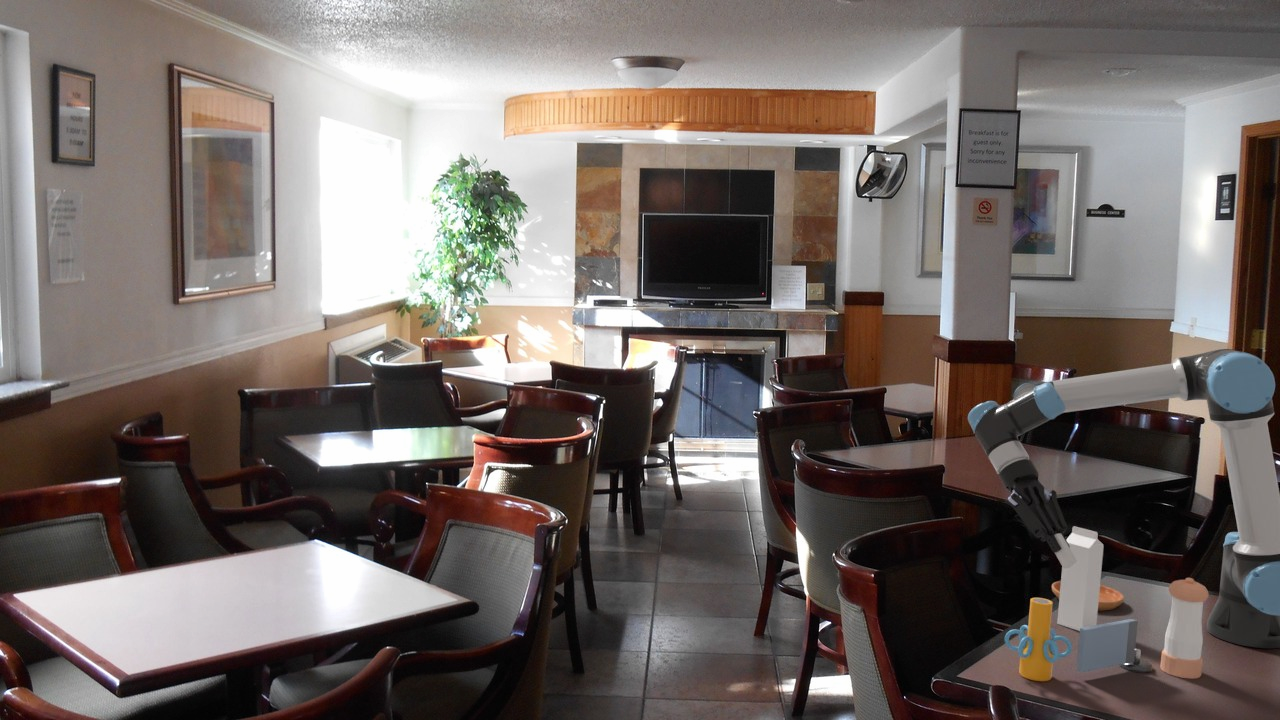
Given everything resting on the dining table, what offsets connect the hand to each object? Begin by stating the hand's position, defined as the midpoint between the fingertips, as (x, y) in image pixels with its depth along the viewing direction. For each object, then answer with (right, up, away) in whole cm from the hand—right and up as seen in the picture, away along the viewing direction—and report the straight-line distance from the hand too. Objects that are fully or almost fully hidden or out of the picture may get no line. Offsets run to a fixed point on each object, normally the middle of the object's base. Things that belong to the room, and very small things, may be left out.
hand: (1070, 564), depth 214 cm
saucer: (+20, -17, +39) cm, 47 cm away
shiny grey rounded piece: (+12, -20, -2) cm, 24 cm away
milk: (+10, -18, +22) cm, 30 cm away
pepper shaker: (+21, -21, -3) cm, 30 cm away
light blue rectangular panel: (+5, -19, -6) cm, 20 cm away
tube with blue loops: (-10, -20, -8) cm, 24 cm away
